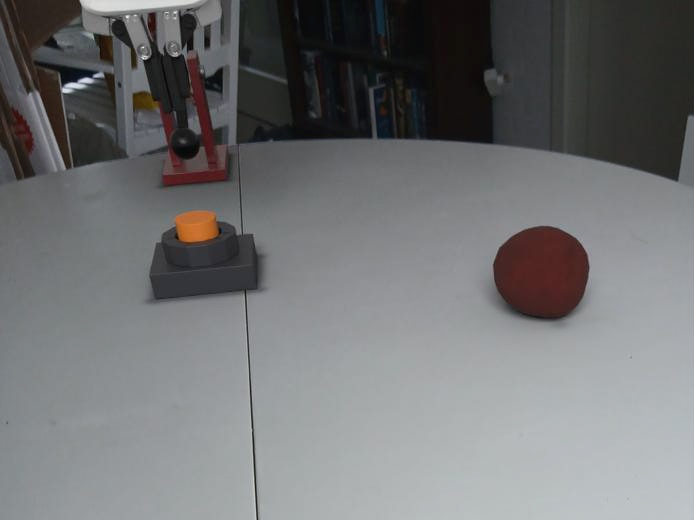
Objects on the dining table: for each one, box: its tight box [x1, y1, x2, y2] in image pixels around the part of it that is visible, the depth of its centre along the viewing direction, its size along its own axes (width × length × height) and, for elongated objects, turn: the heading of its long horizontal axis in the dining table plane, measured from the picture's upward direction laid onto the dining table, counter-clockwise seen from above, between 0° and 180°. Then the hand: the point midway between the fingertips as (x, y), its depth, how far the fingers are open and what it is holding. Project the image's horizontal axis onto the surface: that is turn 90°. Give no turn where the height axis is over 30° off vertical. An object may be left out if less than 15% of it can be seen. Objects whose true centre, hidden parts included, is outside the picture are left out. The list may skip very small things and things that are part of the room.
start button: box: [174, 210, 219, 242], centre depth 88 cm, size 4×4×2 cm
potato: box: [492, 225, 591, 319], centre depth 81 cm, size 7×8×7 cm
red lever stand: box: [157, 49, 230, 186], centre depth 112 cm, size 10×7×12 cm
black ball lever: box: [169, 54, 201, 160], centre depth 108 cm, size 12×3×3 cm
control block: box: [148, 220, 258, 300], centre depth 90 cm, size 9×8×4 cm
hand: (174, 109), depth 82 cm, fingers closed
